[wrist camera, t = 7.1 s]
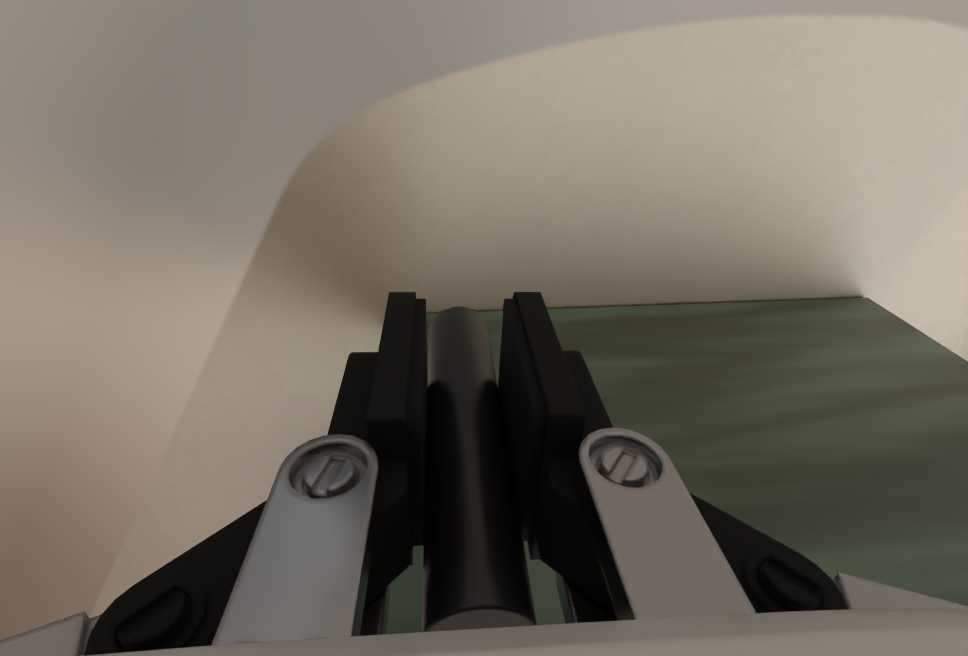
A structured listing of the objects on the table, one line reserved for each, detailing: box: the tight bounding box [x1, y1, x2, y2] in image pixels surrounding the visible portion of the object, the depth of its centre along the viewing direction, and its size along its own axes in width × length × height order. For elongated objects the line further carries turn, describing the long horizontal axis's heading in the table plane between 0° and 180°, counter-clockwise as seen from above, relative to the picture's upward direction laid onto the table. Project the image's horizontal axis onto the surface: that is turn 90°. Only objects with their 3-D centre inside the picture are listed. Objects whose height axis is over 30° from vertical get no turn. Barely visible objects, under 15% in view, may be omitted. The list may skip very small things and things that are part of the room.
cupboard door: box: [386, 298, 968, 634], centre depth 17 cm, size 8×26×20 cm, turn 90°
